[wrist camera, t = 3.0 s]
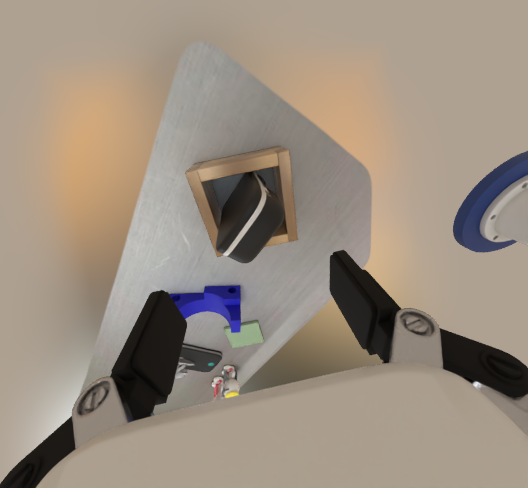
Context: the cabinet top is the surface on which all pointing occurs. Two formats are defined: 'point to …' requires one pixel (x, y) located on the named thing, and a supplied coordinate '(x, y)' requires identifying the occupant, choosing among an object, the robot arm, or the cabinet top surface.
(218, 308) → the cable clip
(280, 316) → the cabinet top surface
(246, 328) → the mat
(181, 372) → the caliper
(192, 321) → the cabinet top surface
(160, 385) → the robot arm
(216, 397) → the toy figures
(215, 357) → the smartphone
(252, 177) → the black zipper case
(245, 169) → the holder
